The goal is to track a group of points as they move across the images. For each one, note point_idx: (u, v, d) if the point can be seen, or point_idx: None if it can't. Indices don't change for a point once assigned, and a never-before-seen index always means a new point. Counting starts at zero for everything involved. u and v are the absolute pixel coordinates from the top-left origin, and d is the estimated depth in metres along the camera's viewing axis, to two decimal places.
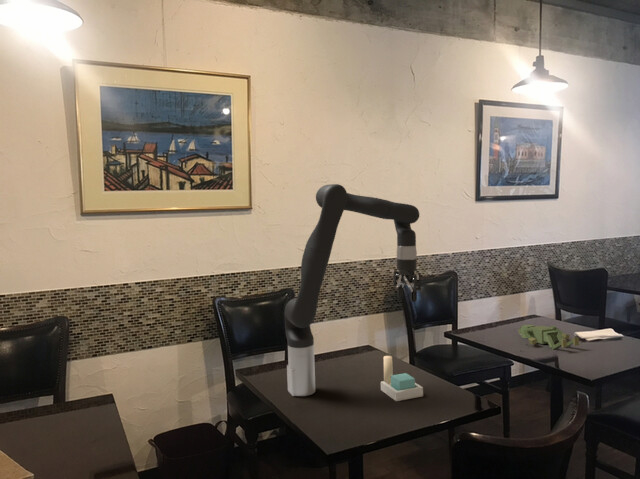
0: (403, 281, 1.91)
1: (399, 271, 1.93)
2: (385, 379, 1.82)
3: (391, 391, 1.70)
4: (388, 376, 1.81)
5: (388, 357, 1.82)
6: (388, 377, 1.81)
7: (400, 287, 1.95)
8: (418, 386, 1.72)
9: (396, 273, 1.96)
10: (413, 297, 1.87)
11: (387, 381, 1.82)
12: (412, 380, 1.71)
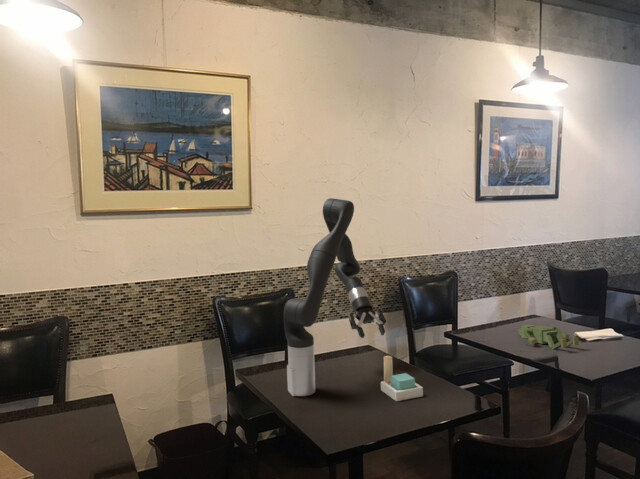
0: (366, 318, 1.96)
1: (357, 312, 1.97)
2: (385, 379, 1.82)
3: (391, 391, 1.70)
4: (388, 376, 1.81)
5: (388, 357, 1.82)
6: (388, 377, 1.81)
7: None
8: (418, 386, 1.72)
9: (353, 315, 1.96)
10: (384, 329, 1.95)
11: (387, 381, 1.82)
12: (412, 380, 1.71)
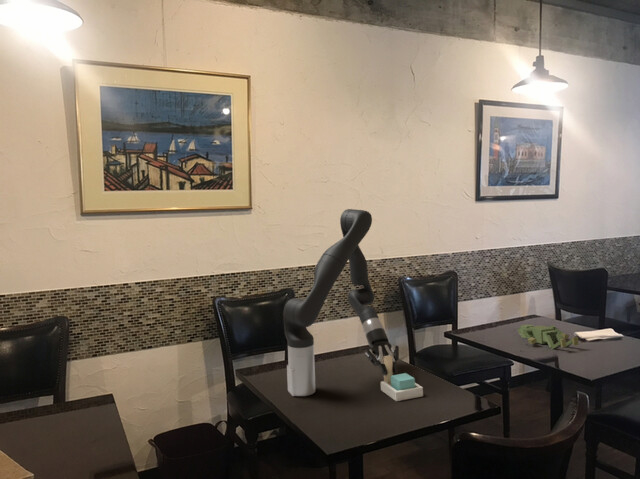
0: (384, 351, 1.85)
1: (372, 345, 1.86)
2: (385, 379, 1.82)
3: (391, 391, 1.70)
4: (388, 376, 1.81)
5: (388, 357, 1.82)
6: (388, 377, 1.81)
7: None
8: (418, 386, 1.72)
9: None
10: (396, 367, 1.82)
11: (387, 381, 1.82)
12: (412, 380, 1.71)
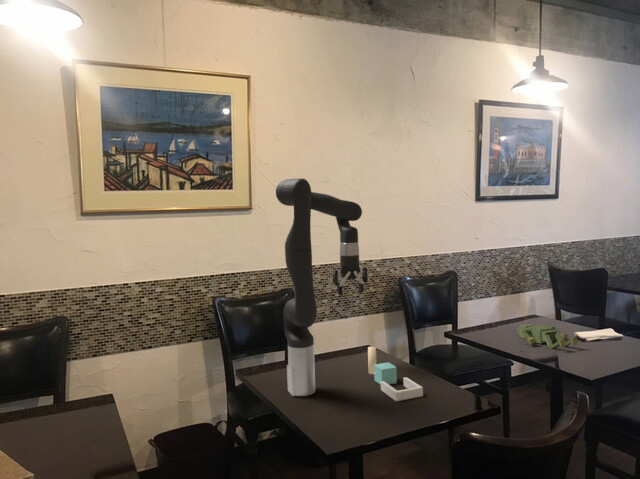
0: (349, 277, 1.96)
1: (343, 269, 1.95)
2: (369, 368, 1.94)
3: (391, 391, 1.70)
4: (372, 365, 1.93)
5: (372, 348, 1.94)
6: (372, 366, 1.93)
7: None
8: (418, 386, 1.72)
9: (337, 272, 1.95)
10: None
11: (371, 370, 1.94)
12: (394, 368, 1.83)
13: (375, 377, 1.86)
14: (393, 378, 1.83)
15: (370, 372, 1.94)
